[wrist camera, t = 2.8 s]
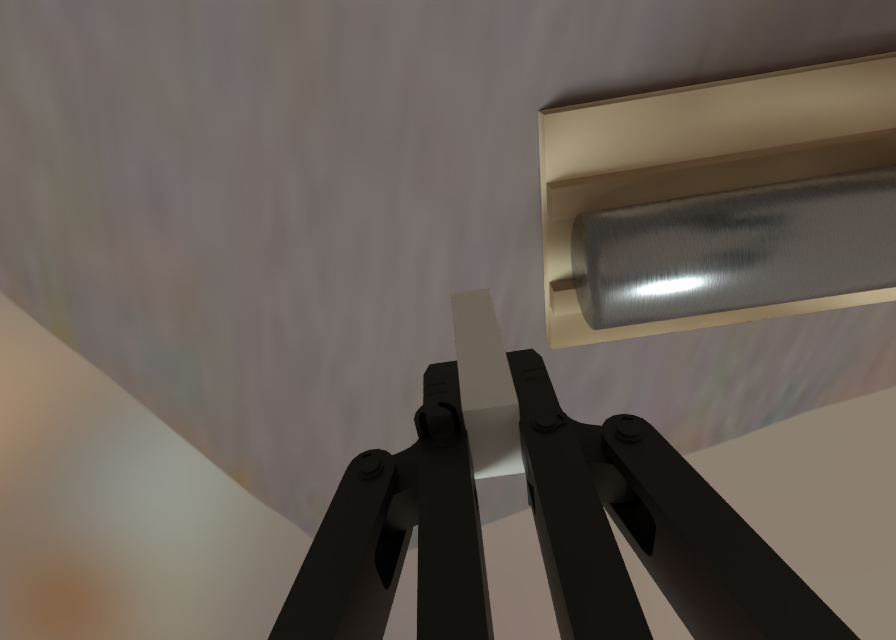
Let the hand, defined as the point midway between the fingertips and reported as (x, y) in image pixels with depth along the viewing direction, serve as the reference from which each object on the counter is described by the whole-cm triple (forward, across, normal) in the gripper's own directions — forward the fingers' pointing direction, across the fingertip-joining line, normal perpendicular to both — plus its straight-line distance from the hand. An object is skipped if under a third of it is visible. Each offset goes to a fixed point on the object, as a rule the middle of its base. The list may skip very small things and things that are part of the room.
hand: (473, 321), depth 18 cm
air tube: (+4, +15, 0) cm, 16 cm away
